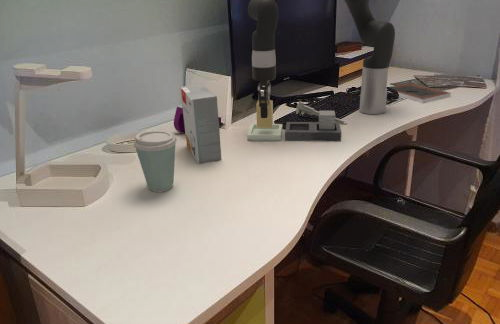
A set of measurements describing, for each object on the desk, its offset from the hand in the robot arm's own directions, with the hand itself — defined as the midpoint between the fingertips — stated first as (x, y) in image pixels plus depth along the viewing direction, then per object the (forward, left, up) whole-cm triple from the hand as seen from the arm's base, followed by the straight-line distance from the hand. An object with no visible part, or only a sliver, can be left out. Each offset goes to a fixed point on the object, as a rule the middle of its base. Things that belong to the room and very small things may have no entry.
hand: (264, 114), depth 139 cm
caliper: (-19, -16, -8) cm, 26 cm away
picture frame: (-61, -51, -8) cm, 80 cm away
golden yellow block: (0, 0, -4) cm, 4 cm away
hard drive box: (+18, +16, -7) cm, 25 cm away
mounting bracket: (+23, -5, -8) cm, 25 cm away
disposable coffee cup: (+24, +39, -7) cm, 46 cm away
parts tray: (0, 0, -7) cm, 7 cm away
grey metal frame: (-16, 0, -7) cm, 18 cm away
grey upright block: (-21, 0, -7) cm, 22 cm away
